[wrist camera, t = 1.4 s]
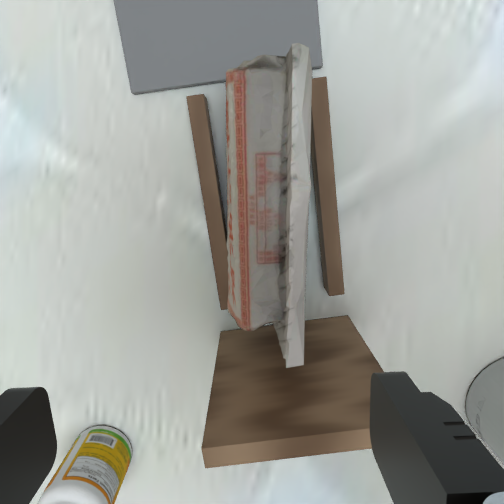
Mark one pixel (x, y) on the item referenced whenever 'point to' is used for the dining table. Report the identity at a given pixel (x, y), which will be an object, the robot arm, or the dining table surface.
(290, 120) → the packaged product
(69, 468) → the supplement bottle
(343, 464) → the dining table surface
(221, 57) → the charcoal pad
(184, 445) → the dining table surface
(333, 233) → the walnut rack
